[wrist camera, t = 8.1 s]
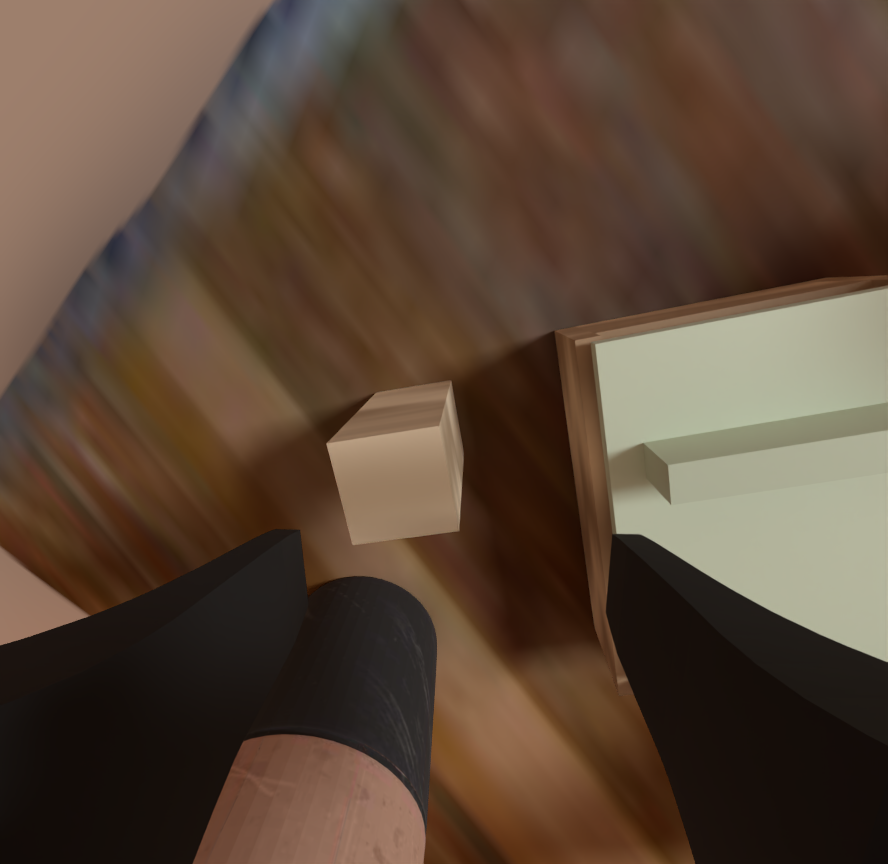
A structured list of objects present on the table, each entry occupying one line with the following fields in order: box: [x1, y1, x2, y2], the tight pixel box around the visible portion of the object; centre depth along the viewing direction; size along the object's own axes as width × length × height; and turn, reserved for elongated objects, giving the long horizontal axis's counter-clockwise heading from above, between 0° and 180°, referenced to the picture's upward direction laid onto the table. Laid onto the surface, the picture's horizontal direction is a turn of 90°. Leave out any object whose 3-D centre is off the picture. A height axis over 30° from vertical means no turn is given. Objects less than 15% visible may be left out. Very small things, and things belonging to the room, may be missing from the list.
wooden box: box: [554, 275, 888, 696], centre depth 17 cm, size 14×10×6 cm
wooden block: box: [326, 380, 464, 545], centre depth 17 cm, size 3×3×7 cm
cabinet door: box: [590, 285, 888, 662], centre depth 15 cm, size 13×9×3 cm
